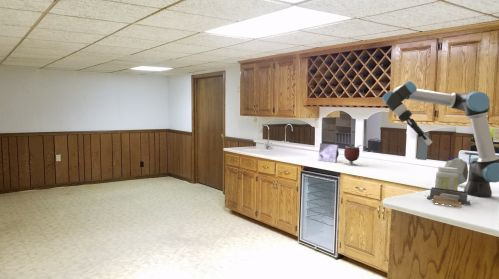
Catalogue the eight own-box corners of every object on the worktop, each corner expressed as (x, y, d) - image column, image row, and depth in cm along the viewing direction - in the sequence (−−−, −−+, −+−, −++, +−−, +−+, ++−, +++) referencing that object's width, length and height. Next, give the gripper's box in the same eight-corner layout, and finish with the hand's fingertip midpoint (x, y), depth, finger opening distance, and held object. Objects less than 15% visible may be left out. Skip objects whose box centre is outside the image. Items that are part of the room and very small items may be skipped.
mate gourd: (342, 165, 358) (344, 143, 357) (343, 163, 371) (345, 143, 370) (359, 166, 353) (361, 145, 352) (360, 165, 367) (362, 144, 365)
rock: (440, 181, 287) (442, 155, 286) (448, 182, 287) (450, 155, 286) (460, 188, 261) (463, 159, 259) (469, 189, 261) (472, 159, 260)
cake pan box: (338, 162, 378) (339, 144, 376) (336, 163, 373) (337, 145, 372) (319, 160, 388) (321, 143, 387) (318, 160, 383) (319, 143, 382)
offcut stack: (433, 201, 210) (434, 191, 209) (460, 205, 203) (461, 195, 203) (432, 203, 203) (432, 193, 203) (460, 207, 197) (461, 197, 196)
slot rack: (428, 196, 222) (429, 186, 222) (469, 203, 211) (470, 192, 211) (426, 198, 216) (427, 188, 215) (469, 205, 205) (470, 194, 205)
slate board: (417, 158, 226) (419, 131, 225) (426, 159, 224) (429, 132, 223) (416, 159, 224) (419, 131, 223) (425, 160, 221) (428, 132, 220)
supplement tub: (449, 194, 237) (452, 166, 236) (461, 198, 224) (464, 169, 223) (430, 192, 236) (432, 165, 235) (440, 197, 224) (443, 168, 223)
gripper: (399, 117, 237) (426, 147, 230) (395, 117, 223) (423, 148, 216) (409, 109, 234) (437, 139, 227) (406, 108, 220) (434, 140, 213)
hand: (430, 143), depth 221 cm, fingers closed on slate board, 3 cm apart
